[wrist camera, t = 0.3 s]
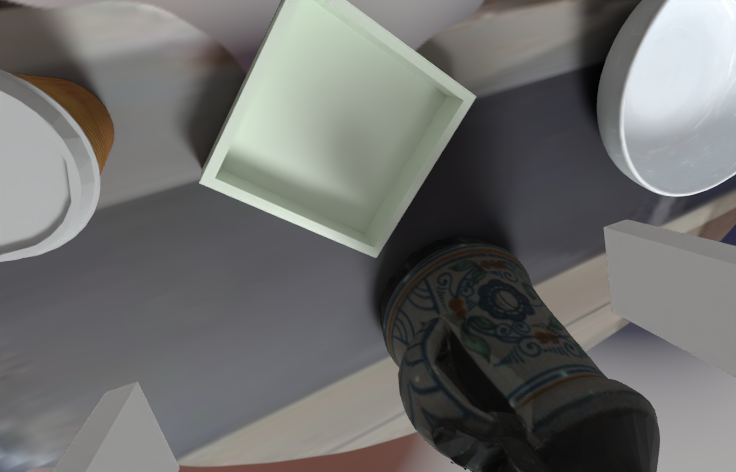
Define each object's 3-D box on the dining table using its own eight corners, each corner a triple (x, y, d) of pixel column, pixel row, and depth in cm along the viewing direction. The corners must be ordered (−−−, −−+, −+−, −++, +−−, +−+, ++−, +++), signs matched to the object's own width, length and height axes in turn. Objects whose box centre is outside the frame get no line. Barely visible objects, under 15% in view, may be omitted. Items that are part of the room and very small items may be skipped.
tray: (293, -27, 29) (301, -34, 26) (455, 91, 36) (476, 96, 33) (202, 169, 32) (199, 183, 29) (365, 241, 39) (376, 258, 36)
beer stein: (502, 342, 51) (700, 565, 30) (351, 379, 47) (456, 676, 25) (521, 221, 44) (801, 399, 23) (344, 249, 39) (484, 510, 18)
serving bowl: (745, -98, 36) (845, -124, 30) (738, 116, 47) (812, 128, 41) (544, 19, 36) (607, 15, 30) (583, 210, 46) (636, 236, 40)
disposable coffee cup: (-62, 69, 26) (-260, 92, 15) (100, 35, 27) (21, 36, 17) (27, 207, 30) (-79, 297, 20) (162, 171, 32) (129, 237, 21)
